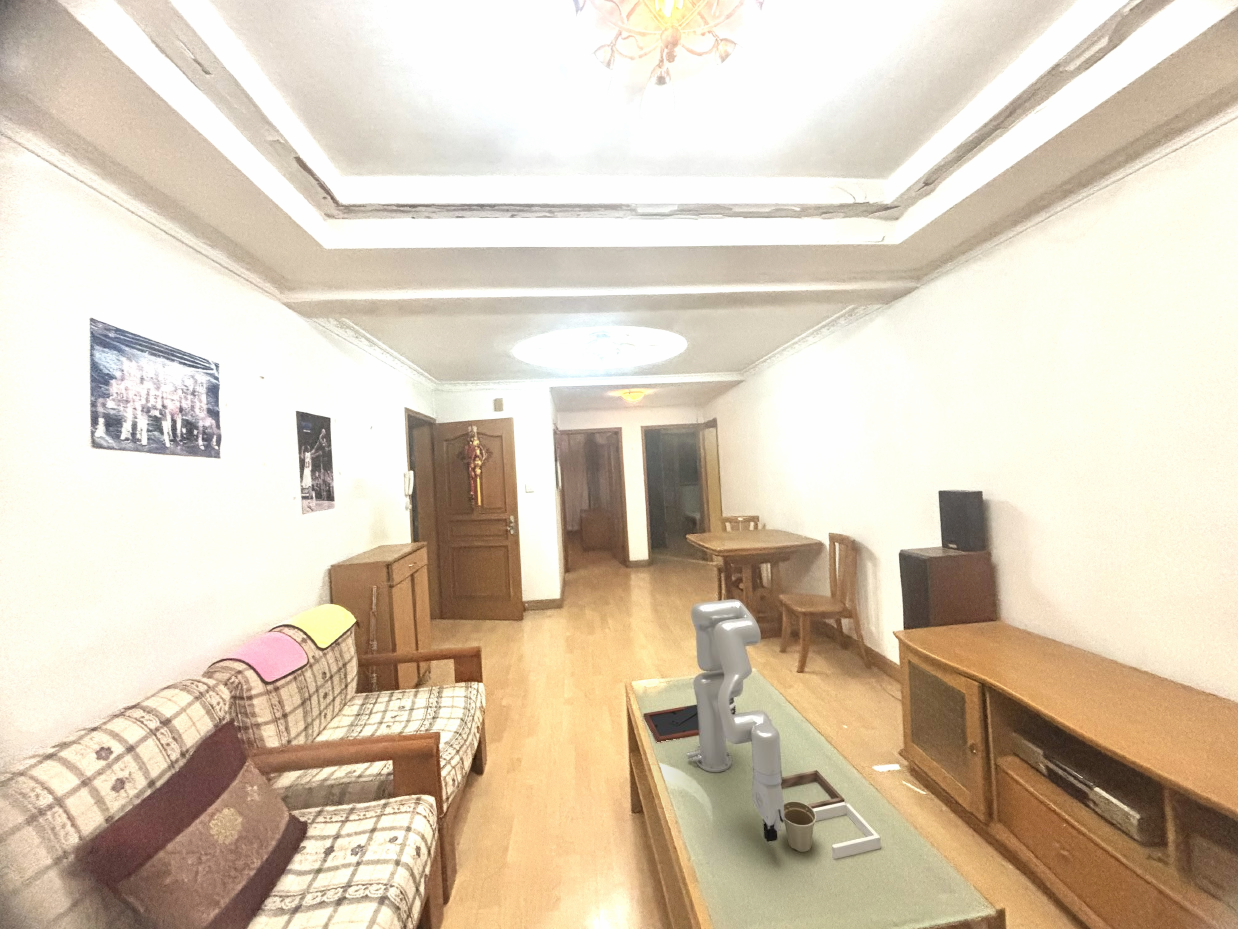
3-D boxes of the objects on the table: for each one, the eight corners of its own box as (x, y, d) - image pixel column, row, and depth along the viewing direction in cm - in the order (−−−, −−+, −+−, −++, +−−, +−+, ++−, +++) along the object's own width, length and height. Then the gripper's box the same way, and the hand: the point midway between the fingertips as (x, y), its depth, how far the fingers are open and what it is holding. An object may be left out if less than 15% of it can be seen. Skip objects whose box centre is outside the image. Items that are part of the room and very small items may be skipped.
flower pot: (801, 863, 127) (799, 831, 127) (774, 839, 136) (772, 809, 136) (825, 848, 132) (823, 817, 132) (798, 825, 140) (796, 796, 140)
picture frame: (699, 708, 209) (643, 717, 204) (698, 703, 209) (643, 712, 204) (718, 733, 190) (657, 744, 184) (717, 728, 189) (656, 739, 184)
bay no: (802, 818, 143) (802, 808, 143) (778, 787, 157) (778, 778, 157) (844, 809, 145) (844, 799, 145) (817, 779, 159) (816, 770, 159)
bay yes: (834, 859, 128) (834, 848, 128) (804, 820, 142) (804, 810, 142) (880, 848, 131) (880, 837, 131) (847, 811, 144) (846, 801, 144)
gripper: (742, 758, 139) (746, 821, 139) (767, 793, 124) (771, 864, 124) (766, 754, 140) (770, 816, 140) (794, 788, 125) (798, 858, 126)
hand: (770, 838), depth 132 cm, fingers closed
